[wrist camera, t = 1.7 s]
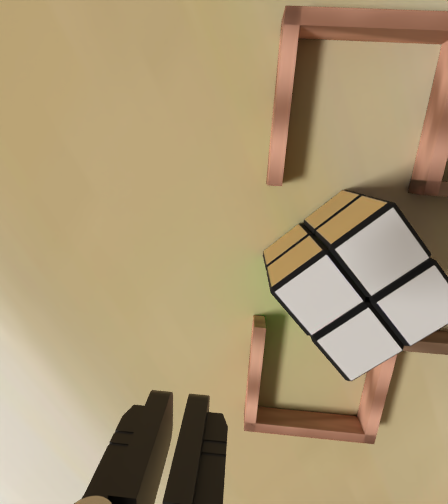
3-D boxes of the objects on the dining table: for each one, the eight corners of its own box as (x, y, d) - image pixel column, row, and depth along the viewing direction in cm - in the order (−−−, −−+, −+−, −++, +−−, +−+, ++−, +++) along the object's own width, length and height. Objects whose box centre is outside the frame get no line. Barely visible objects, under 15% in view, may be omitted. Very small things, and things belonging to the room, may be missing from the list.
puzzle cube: (402, 265, 30) (475, 312, 21) (318, 320, 32) (350, 386, 23) (344, 187, 28) (394, 199, 19) (260, 252, 31) (267, 291, 21)
